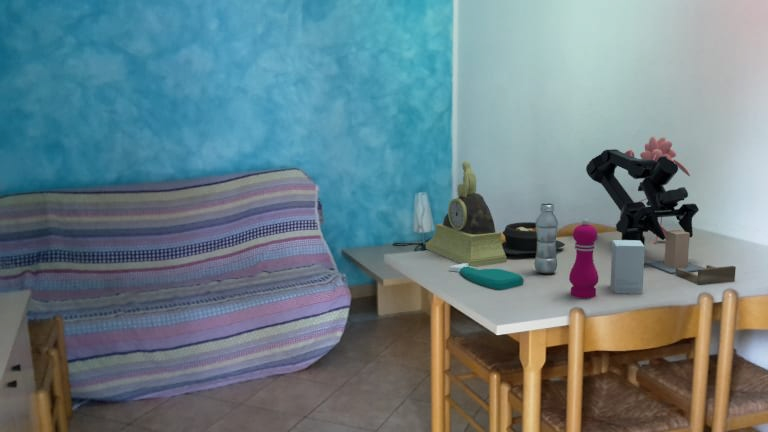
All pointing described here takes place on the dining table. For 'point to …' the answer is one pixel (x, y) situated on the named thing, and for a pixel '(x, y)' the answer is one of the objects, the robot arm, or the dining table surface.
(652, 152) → the pink artificial flower
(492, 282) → the spray bottle
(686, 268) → the slate rubber mat
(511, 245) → the casserole
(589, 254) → the pepper mill
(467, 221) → the decorative clock
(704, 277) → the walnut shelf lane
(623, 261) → the supplement box
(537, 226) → the plastic bottle
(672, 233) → the peach block
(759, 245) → the dining table surface
